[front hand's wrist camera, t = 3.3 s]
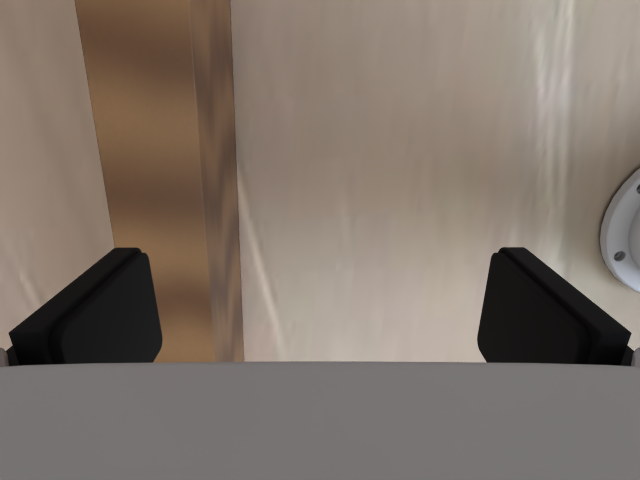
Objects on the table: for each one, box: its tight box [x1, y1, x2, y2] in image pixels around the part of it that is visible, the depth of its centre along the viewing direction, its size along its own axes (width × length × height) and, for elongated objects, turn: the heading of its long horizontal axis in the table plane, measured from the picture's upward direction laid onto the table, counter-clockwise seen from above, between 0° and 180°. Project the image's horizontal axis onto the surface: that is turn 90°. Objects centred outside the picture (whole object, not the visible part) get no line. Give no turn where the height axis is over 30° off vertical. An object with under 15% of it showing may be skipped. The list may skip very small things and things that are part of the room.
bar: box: [75, 0, 244, 363], centre depth 32 cm, size 81×6×9 cm, turn 178°
